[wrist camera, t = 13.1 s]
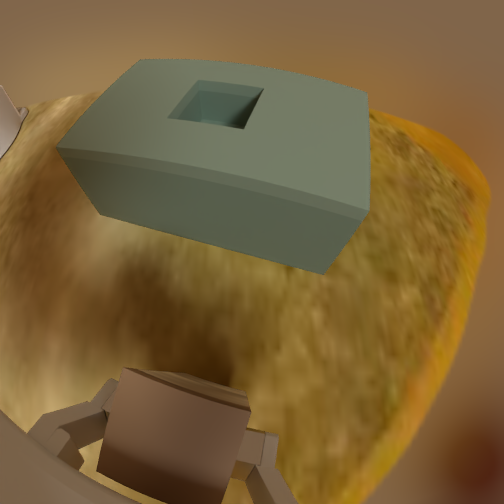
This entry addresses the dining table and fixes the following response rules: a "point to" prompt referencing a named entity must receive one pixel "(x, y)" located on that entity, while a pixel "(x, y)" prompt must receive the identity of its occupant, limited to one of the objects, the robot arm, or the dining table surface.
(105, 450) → the wooden block
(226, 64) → the box with square hole
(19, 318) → the dining table surface
